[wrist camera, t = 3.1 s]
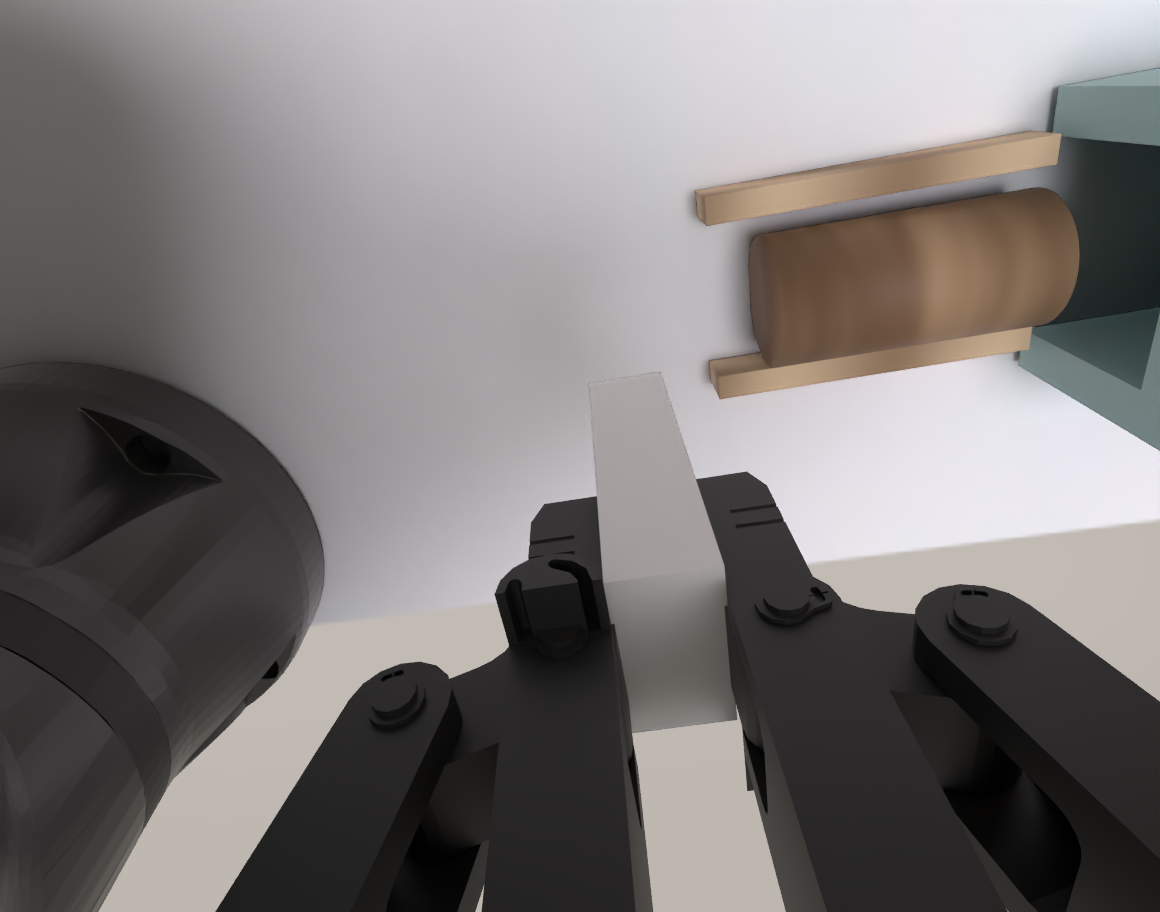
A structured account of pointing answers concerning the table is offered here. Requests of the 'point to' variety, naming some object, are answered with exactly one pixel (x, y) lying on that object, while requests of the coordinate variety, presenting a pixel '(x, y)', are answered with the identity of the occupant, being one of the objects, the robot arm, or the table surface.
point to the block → (1122, 341)
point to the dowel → (912, 276)
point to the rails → (862, 183)
